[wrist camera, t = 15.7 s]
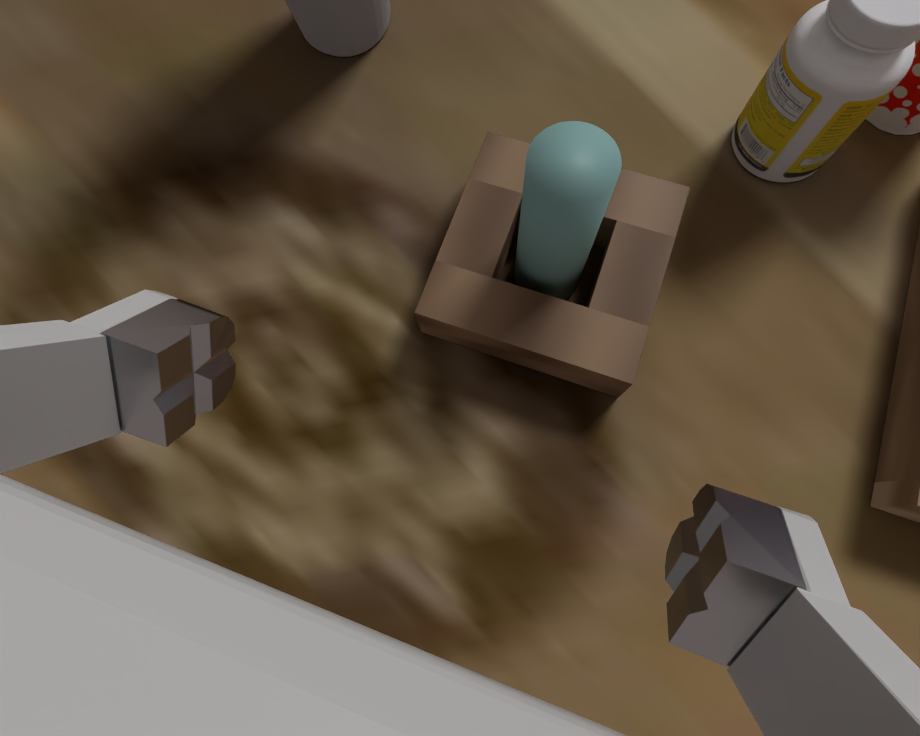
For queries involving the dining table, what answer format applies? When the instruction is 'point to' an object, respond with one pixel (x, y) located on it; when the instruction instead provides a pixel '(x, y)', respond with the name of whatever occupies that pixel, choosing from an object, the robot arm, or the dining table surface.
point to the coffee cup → (341, 24)
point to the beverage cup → (901, 103)
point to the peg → (563, 204)
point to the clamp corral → (903, 417)
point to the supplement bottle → (825, 84)
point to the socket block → (539, 315)
